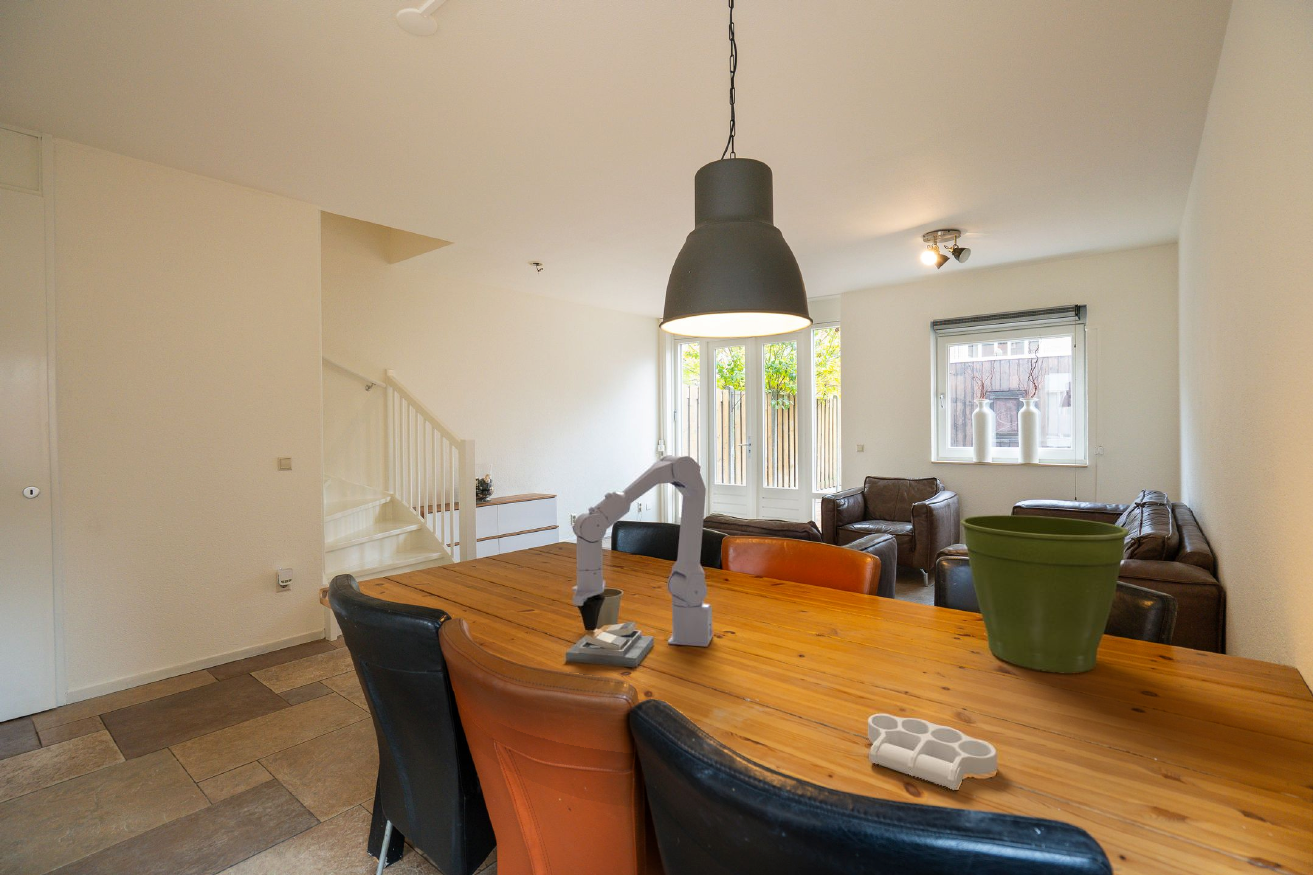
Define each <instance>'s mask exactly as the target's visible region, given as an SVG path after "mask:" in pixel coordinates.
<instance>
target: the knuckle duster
mask: <svg viewBox="0 0 1313 875" xmlns="http://www.w3.org/2000/svg"><path fill="white" fill-rule="evenodd" d="M868 738H869V740H870V741H871V742H872V743H873V745H872V744H871V747H870V750H869V753H868V761H869V762H871V763H872V764H874V763H875V764H874V765H877V764H879V766H882V767H886V768H888V769H890V770H894V771H897V772H900V773H902V774H906V775H908V774H909V776H910V775H911V777H913V776H915V777H914V778H917V777H919V778H918V779H920V778H922V779H921V780H923V779H925V780H924V781H926V780H928V781H931V782H934V783H937V784H939V785H938V786H940V785H942V786H941V787H943V786H946V787H948V788H947V789H949V788H950V790H951V789H952V790H951V791H954V790H957V788H958V786H959V784H960V782H961V780H962V778H963V777H964V774H970V773H971V774H989V773H991V772H994V771H996V769H997V770H998V755H997V754H998V752H997V750H996V747H994V746H993V744H991V743H990V742H987V741H985V740H982V739H976V738H975V737H970V736H968V735H967V734H965V733H963V732H961V730H958V729H955V728H953V727H950V726H946V725H941V724H940V725H939V724H936V723H932V722H930V721H928V720H926V719H921V718H916V717H915V718H914V717H910V718H909V717H900V716H899V717H898V716H895V715H891V714H889V713H876V714H872V715H871V716H869V717H868V719H867V739H868ZM869 740H868V741H869ZM950 762H951V763H950ZM928 781H927V782H928ZM931 782H930V783H931ZM934 783H933V784H934ZM937 784H936V785H937ZM946 787H945V788H946Z"/></svg>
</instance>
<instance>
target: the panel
mask: <svg viewBox="0 0 1313 875" xmlns="http://www.w3.org/2000/svg"><path fill="white" fill-rule="evenodd" d="M620 637H623V638H626V639H627V640H626V644H625V647H624V648H623V649H622V650H614V649H606V648H603V647H600V646H597V645H594V644H591V643H588V642H585V638H586V634H585V635H584V636H583V637H582V638H580V639H579V640H578V641H577V642H576V643H575V644H573V645H572V646H571V647H569V649H567V651H565V662H566V663H567V662H570V663H580V664H581V663H583V664H590V665H591V664H592V665H601V666H603V665H604V666H613V667H626V668H635V667H636V668H638V666H639V665H640V663H641V662H642V661H643V660H644V659H645V657H646V656H647V655H648V654H649V652H650V651H651V649H652V648H653V645H655V636H653V635H643V633H642V630H640V629H639V630H637V629H635V630H634V631H633V632H632V633H631V634H629V635H622V636H620ZM649 650H650V651H649ZM645 655H646V656H645ZM642 659H643V660H642ZM638 664H639V665H638Z"/></svg>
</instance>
